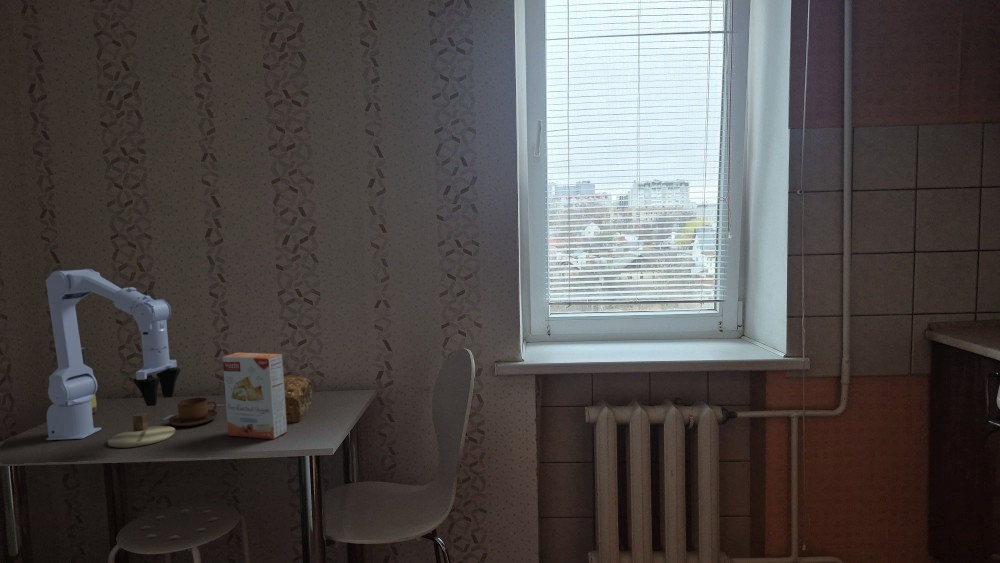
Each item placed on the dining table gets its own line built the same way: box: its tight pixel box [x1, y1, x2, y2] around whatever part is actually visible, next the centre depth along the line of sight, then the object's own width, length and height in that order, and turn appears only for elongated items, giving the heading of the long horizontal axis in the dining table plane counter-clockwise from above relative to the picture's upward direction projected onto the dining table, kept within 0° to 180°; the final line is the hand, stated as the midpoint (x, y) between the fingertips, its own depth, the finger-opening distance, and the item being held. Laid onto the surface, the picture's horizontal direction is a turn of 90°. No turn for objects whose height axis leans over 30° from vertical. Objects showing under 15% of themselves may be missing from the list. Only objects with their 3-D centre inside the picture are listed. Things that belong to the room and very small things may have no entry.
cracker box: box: [222, 352, 288, 440], centre depth 154 cm, size 14×6×21 cm, turn 73°
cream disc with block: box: [107, 412, 176, 449], centre depth 156 cm, size 15×15×5 cm
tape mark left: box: [161, 414, 175, 421], centre depth 174 cm, size 1×5×1 cm, turn 1°
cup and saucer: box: [168, 397, 218, 427], centre depth 168 cm, size 12×12×6 cm
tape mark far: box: [211, 404, 226, 407], centre depth 185 cm, size 5×1×1 cm, turn 91°
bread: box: [284, 374, 313, 424], centre depth 173 cm, size 19×11×10 cm, turn 6°
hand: (160, 401), depth 153 cm, fingers open, 7 cm apart
